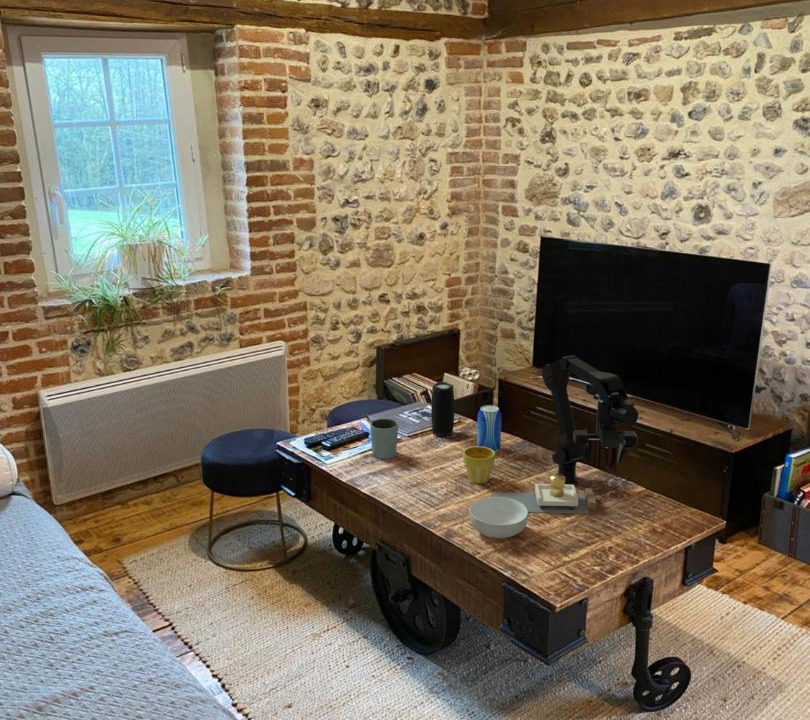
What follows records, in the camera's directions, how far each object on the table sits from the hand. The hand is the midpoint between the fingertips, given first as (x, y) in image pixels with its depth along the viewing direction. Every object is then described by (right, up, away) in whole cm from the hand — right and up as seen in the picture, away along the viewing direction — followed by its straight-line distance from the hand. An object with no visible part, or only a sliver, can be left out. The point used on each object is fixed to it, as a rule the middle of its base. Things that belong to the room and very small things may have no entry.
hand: (603, 463), depth 248 cm
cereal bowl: (-34, -18, -16) cm, 42 cm away
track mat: (-20, -12, +1) cm, 23 cm away
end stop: (-4, -13, 0) cm, 13 cm away
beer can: (-31, -1, +41) cm, 52 cm away
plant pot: (-37, -8, +18) cm, 42 cm away
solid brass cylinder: (-14, -9, 0) cm, 17 cm away
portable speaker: (-47, +4, +57) cm, 74 cm away
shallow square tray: (-15, -12, +1) cm, 19 cm away
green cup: (-69, -2, +38) cm, 78 cm away
